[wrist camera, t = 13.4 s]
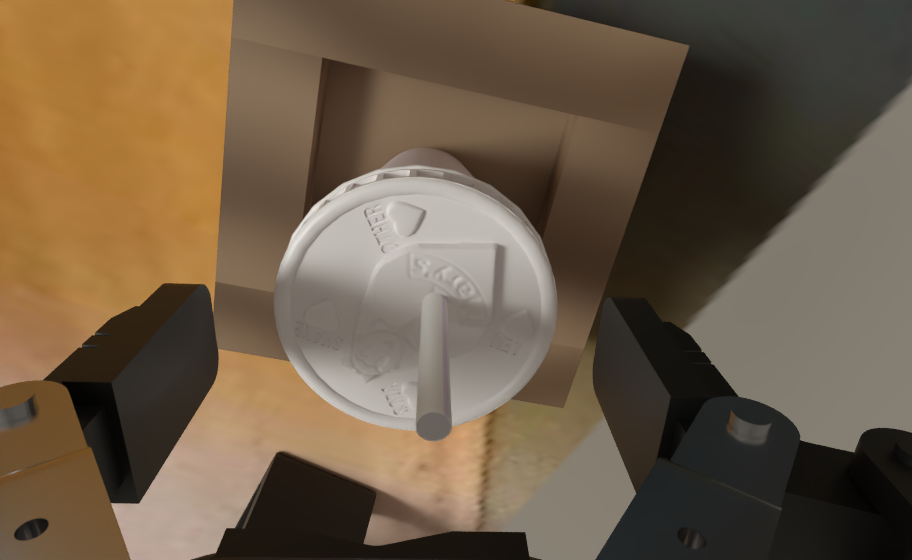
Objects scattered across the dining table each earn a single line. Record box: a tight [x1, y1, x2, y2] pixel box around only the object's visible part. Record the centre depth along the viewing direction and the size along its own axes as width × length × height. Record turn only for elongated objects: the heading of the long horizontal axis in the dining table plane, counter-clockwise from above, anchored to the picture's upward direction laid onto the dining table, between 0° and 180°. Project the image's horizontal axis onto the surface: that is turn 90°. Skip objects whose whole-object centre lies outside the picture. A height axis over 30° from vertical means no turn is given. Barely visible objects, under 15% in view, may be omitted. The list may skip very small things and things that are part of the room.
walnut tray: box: [213, 0, 689, 408], centre depth 24 cm, size 14×14×6 cm
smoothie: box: [274, 147, 557, 441], centre depth 16 cm, size 6×6×14 cm
